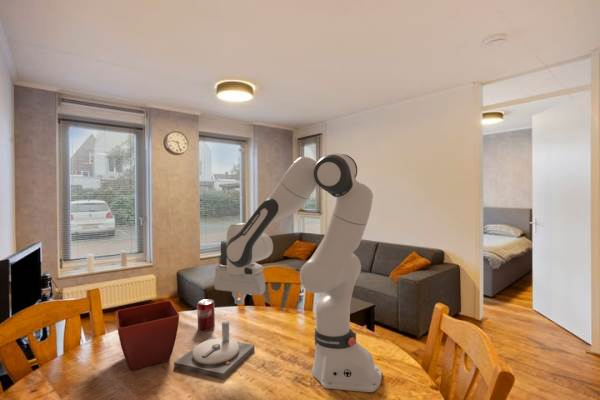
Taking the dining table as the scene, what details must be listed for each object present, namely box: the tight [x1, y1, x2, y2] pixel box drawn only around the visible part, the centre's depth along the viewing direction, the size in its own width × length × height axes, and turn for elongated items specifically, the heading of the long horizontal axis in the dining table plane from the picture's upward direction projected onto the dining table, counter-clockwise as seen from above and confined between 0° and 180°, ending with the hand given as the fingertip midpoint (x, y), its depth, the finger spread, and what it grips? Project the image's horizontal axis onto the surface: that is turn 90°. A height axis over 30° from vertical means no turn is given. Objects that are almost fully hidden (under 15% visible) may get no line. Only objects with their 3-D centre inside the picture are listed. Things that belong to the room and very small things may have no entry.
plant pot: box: [115, 300, 180, 371], centre depth 113 cm, size 19×19×17 cm
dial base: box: [173, 336, 255, 381], centre depth 112 cm, size 20×20×2 cm
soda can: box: [196, 298, 216, 332], centre depth 138 cm, size 7×7×12 cm
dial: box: [192, 320, 239, 364], centre depth 112 cm, size 16×16×8 cm
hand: (239, 303), depth 115 cm, fingers closed
